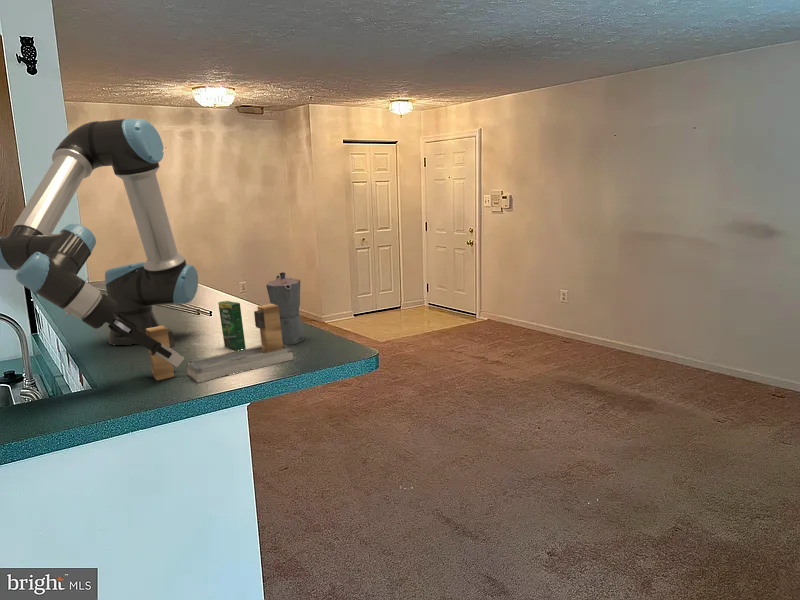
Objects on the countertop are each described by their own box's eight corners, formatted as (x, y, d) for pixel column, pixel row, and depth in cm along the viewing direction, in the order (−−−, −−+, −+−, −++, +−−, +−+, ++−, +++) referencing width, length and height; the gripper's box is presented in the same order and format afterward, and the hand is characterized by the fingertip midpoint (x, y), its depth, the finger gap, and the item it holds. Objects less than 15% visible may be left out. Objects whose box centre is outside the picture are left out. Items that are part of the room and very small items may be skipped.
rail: (188, 374, 141) (186, 362, 140) (280, 353, 154) (278, 341, 154) (197, 382, 135) (196, 369, 134) (293, 359, 148) (291, 347, 147)
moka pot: (279, 350, 158) (271, 277, 153) (264, 338, 171) (257, 271, 167) (313, 343, 162) (306, 272, 158) (296, 332, 175) (289, 266, 171)
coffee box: (223, 346, 165) (217, 301, 162) (232, 344, 166) (226, 299, 164) (236, 351, 159) (231, 304, 156) (246, 349, 161) (240, 302, 158)
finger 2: (258, 353, 149) (252, 307, 146) (277, 348, 152) (272, 303, 149) (264, 356, 145) (258, 309, 143) (283, 351, 148) (278, 305, 146)
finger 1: (152, 376, 141) (145, 328, 139) (174, 371, 144) (168, 324, 142) (156, 380, 138) (149, 331, 136) (179, 375, 141) (172, 327, 138)
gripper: (75, 314, 136) (159, 365, 148) (85, 326, 122) (177, 381, 134) (96, 288, 137) (178, 341, 150) (109, 297, 124) (197, 354, 136)
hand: (177, 360), depth 142 cm, fingers closed on finger 1, 4 cm apart
